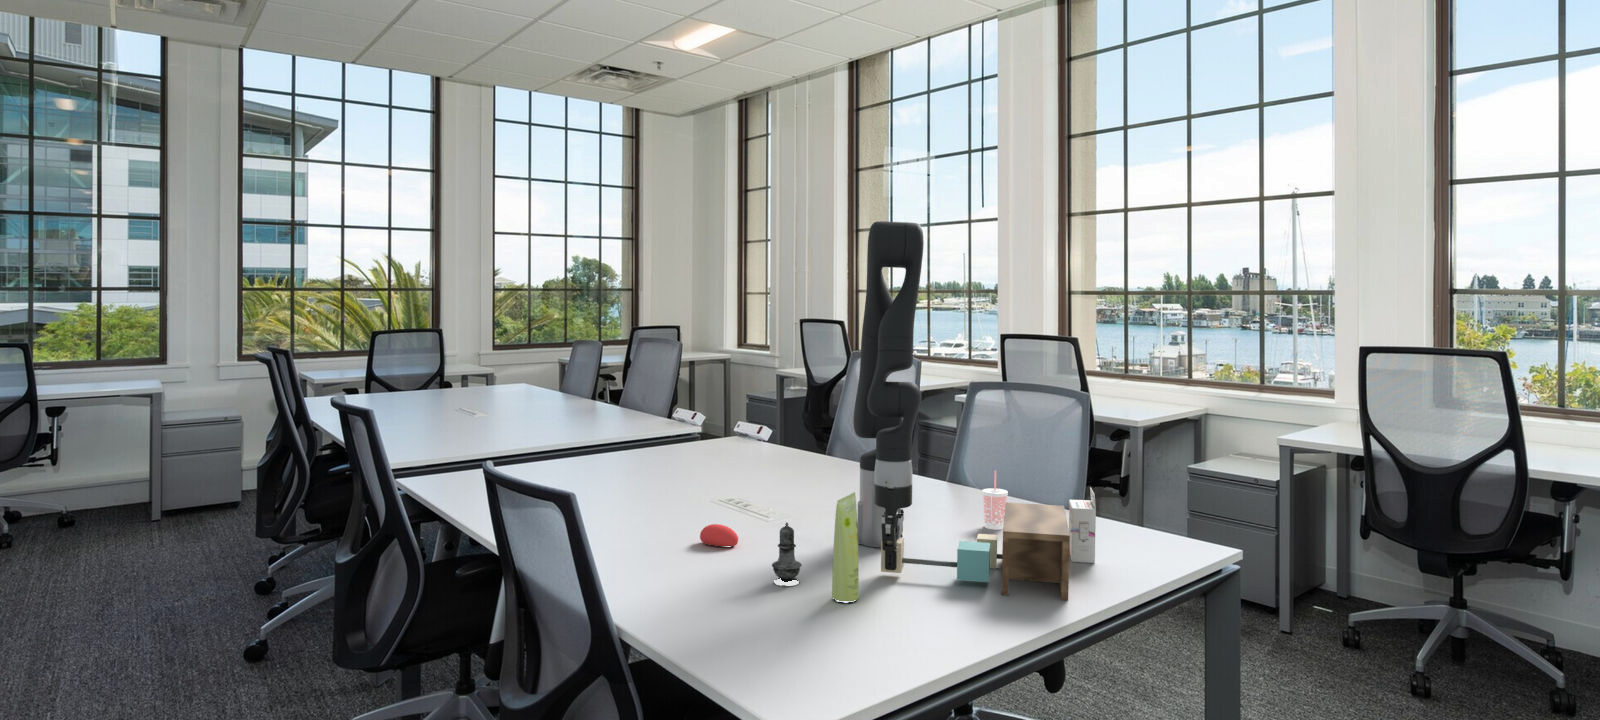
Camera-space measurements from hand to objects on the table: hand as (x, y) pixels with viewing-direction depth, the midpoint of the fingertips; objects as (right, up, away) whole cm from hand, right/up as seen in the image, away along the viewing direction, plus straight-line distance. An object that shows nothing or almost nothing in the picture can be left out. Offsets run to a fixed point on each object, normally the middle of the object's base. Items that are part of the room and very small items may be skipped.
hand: (892, 565), depth 176 cm
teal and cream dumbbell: (+8, -1, -2) cm, 9 cm away
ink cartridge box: (+42, -2, +14) cm, 45 cm away
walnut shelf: (+28, -2, 0) cm, 28 cm away
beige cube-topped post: (+26, -2, +7) cm, 27 cm away
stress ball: (-37, -1, +22) cm, 43 cm away
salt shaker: (-21, -3, -4) cm, 22 cm away
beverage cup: (+29, 0, +39) cm, 49 cm away
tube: (-10, -3, -14) cm, 18 cm away
